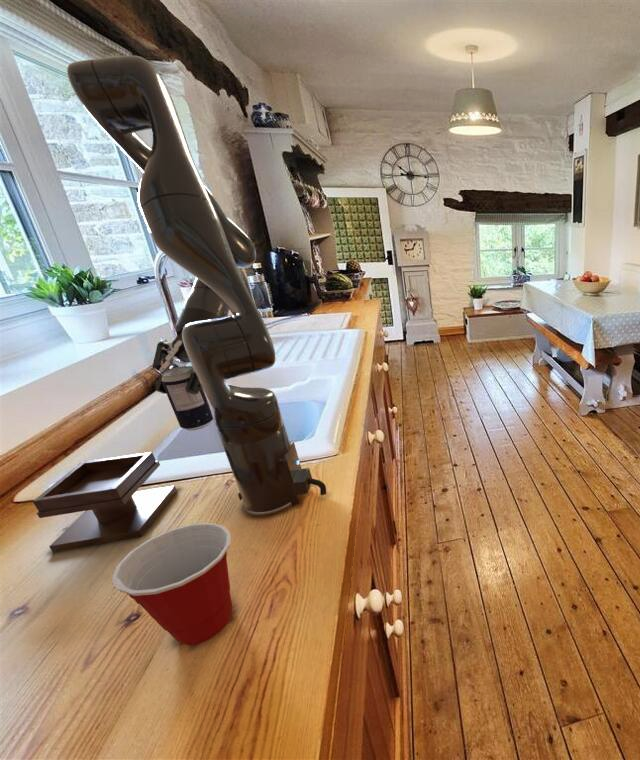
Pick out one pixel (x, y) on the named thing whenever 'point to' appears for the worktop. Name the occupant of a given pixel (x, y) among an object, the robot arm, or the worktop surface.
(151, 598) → the plastic cup
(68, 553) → the worktop surface
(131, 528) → the cup stand
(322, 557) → the worktop surface
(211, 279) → the robot arm
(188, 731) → the worktop surface
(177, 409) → the beverage can
